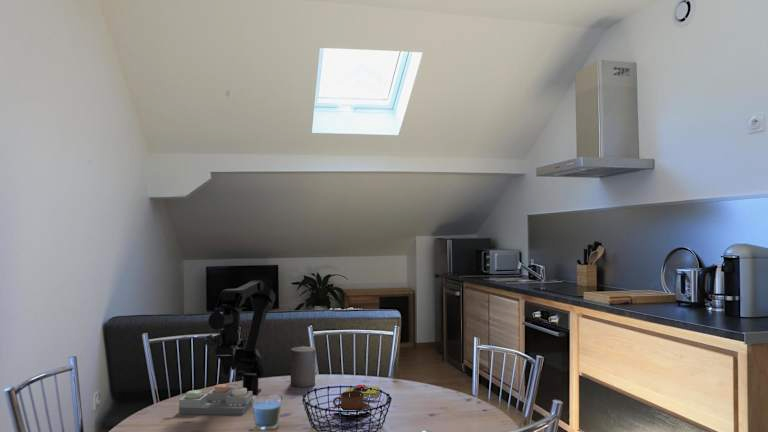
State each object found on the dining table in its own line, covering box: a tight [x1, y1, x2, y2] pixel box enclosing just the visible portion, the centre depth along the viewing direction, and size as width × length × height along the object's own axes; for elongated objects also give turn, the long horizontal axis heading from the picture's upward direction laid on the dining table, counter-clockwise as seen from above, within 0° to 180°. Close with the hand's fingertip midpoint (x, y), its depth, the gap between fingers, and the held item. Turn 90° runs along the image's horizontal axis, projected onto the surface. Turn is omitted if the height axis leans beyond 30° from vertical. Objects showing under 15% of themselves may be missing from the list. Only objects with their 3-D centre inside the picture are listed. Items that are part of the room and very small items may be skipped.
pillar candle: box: [289, 346, 316, 388], centre depth 216 cm, size 10×10×15 cm
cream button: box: [232, 386, 247, 396], centre depth 186 cm, size 5×5×2 cm
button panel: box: [178, 387, 257, 416], centre depth 186 cm, size 15×21×4 cm
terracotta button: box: [213, 383, 230, 393], centre depth 190 cm, size 5×5×2 cm
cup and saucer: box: [332, 391, 372, 415], centre depth 180 cm, size 12×12×6 cm
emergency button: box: [345, 384, 381, 402], centre depth 198 cm, size 9×4×15 cm
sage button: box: [185, 389, 203, 399], centre depth 183 cm, size 5×5×2 cm
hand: (229, 372), depth 189 cm, fingers open, 9 cm apart
